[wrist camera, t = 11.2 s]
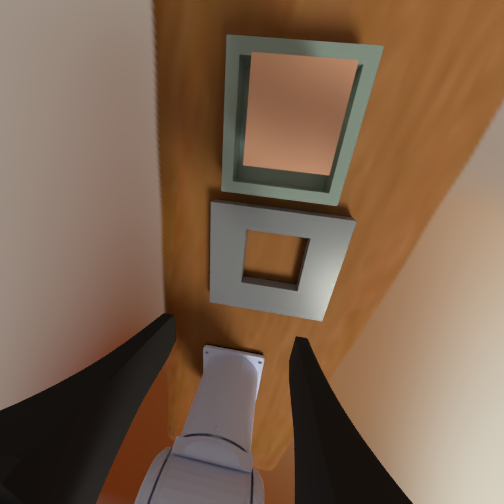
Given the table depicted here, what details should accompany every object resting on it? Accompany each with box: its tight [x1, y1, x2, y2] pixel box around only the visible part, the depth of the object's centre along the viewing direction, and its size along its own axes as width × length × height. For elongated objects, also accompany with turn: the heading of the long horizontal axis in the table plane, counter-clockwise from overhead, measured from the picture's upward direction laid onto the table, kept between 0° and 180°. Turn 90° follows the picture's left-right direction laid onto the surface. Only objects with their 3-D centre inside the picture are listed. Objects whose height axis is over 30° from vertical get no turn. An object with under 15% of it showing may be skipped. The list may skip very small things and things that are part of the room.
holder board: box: [210, 199, 357, 321], centre depth 19 cm, size 11×12×1 cm
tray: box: [221, 34, 384, 206], centre depth 14 cm, size 9×9×2 cm
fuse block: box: [243, 52, 359, 175], centre depth 11 cm, size 4×4×7 cm
